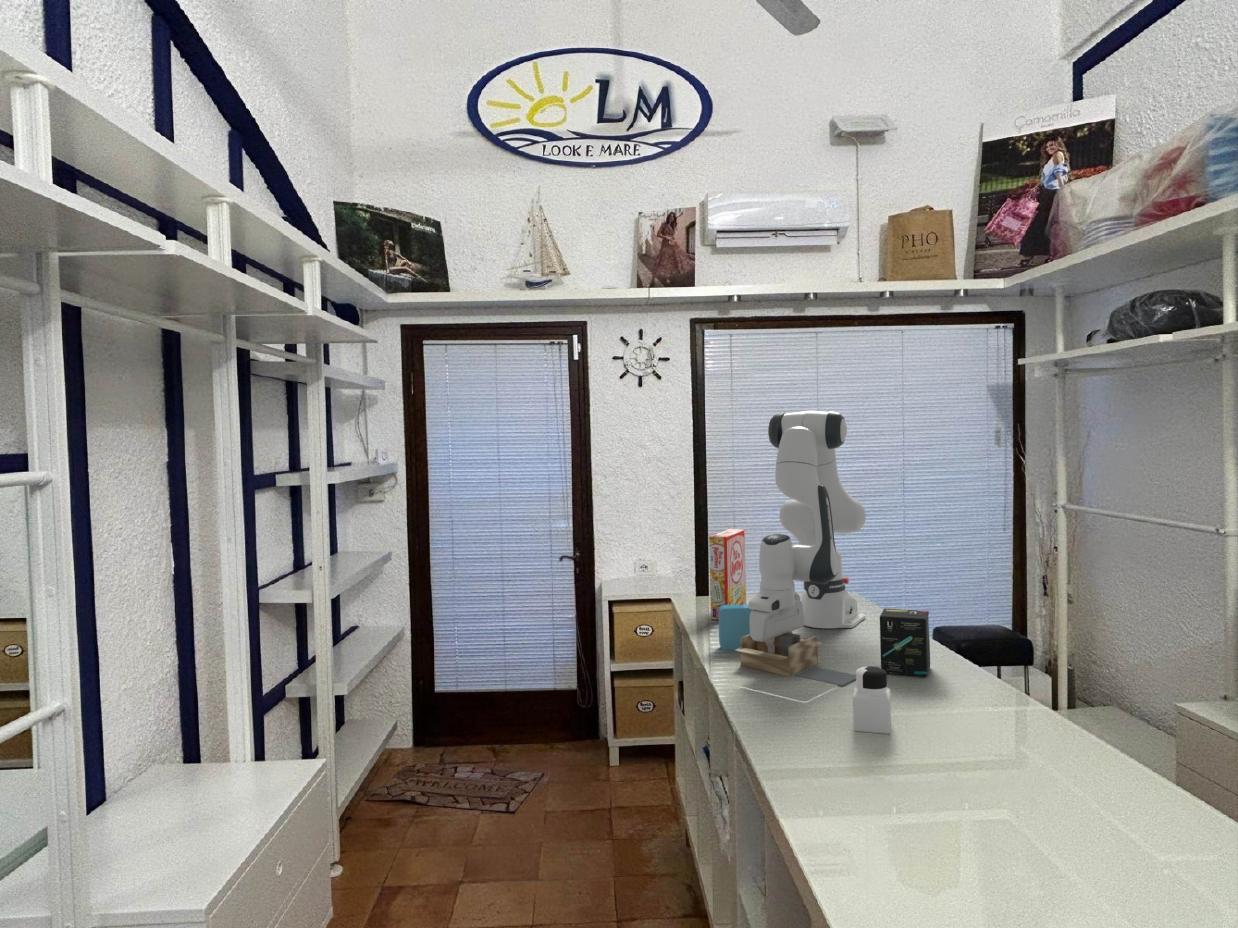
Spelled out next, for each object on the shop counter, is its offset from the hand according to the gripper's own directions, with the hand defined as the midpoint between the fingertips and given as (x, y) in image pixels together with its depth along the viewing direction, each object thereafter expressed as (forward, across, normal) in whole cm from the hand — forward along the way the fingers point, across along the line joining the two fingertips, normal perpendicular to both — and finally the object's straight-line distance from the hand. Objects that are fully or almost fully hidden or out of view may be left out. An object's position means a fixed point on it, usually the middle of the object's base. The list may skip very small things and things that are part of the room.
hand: (778, 651), depth 209 cm
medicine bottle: (+4, +24, +38) cm, 45 cm away
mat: (+4, +1, +14) cm, 15 cm away
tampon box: (+4, -15, +27) cm, 31 cm away
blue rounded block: (+4, -7, -17) cm, 19 cm away
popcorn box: (+4, -39, -45) cm, 60 cm away
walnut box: (+3, 0, 0) cm, 3 cm away
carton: (+4, 0, 0) cm, 4 cm away
